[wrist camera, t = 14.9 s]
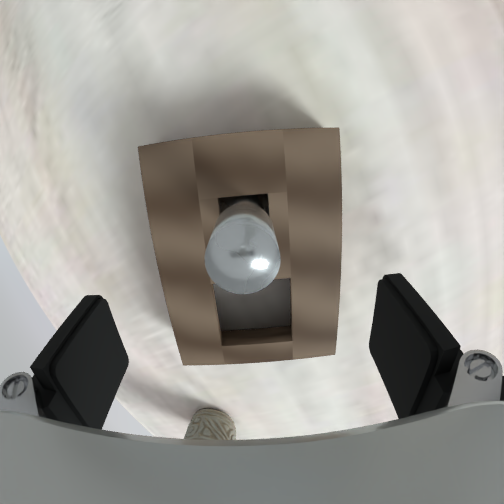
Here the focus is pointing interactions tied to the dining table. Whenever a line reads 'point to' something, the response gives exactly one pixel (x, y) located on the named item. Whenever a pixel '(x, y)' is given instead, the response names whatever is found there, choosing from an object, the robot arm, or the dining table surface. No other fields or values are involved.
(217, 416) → the carving
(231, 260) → the keyhole peg
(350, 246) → the dining table surface
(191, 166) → the keyhole board
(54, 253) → the dining table surface
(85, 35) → the dining table surface
